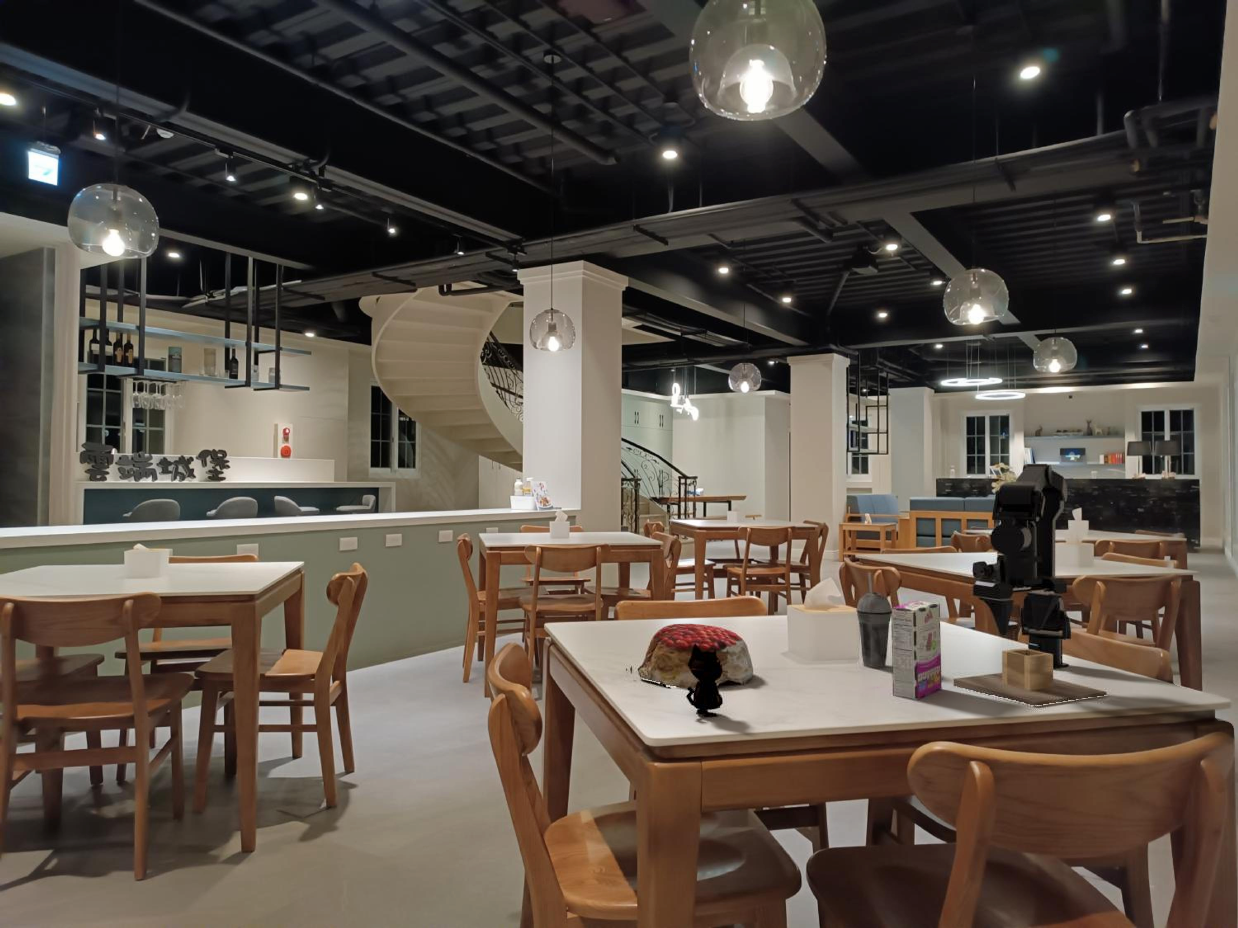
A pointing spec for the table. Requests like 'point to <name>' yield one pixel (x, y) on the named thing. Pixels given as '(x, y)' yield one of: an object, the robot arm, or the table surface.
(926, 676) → the candy bar box
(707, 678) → the cat figurine
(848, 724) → the table surface
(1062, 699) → the pin board
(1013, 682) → the oak collar
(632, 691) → the table surface
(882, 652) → the beverage cup
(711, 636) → the cake
